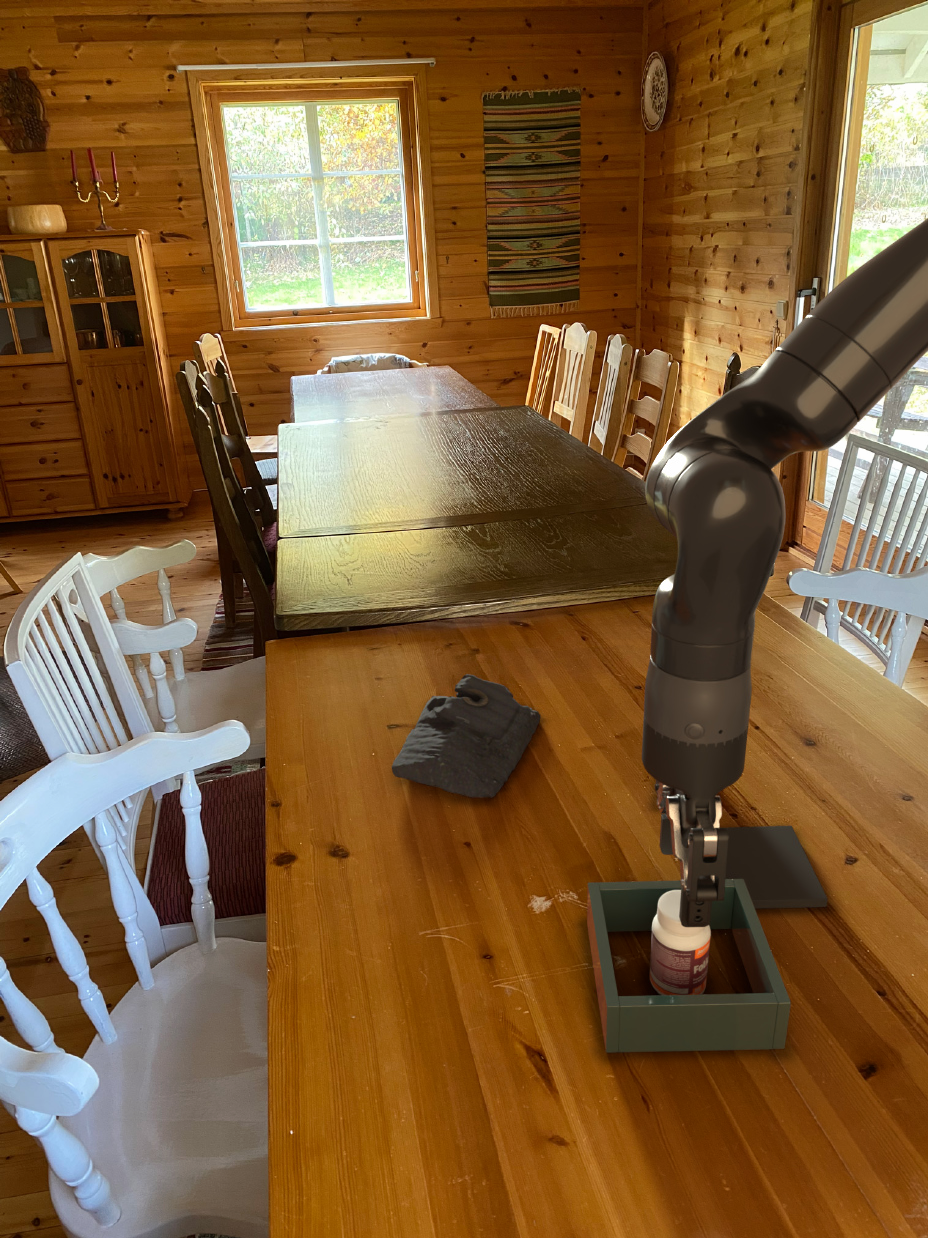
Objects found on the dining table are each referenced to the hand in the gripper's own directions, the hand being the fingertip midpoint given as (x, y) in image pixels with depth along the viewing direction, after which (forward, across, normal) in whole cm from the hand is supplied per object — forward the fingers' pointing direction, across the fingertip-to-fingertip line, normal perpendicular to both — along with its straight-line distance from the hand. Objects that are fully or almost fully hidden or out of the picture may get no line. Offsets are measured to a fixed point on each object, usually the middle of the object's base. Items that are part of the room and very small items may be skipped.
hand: (682, 886), depth 74 cm
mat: (+10, +14, -10) cm, 20 cm away
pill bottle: (+11, 0, 0) cm, 11 cm away
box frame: (+10, 0, 0) cm, 11 cm away
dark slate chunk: (+11, +38, +19) cm, 44 cm away
